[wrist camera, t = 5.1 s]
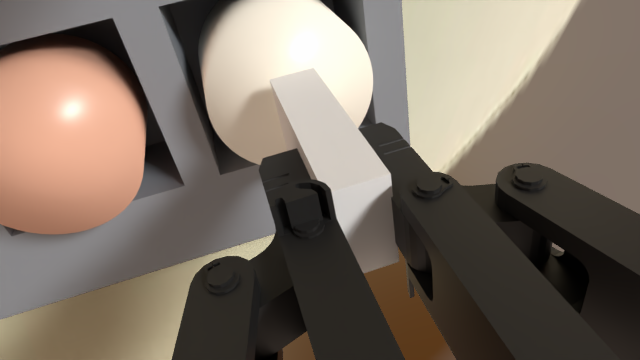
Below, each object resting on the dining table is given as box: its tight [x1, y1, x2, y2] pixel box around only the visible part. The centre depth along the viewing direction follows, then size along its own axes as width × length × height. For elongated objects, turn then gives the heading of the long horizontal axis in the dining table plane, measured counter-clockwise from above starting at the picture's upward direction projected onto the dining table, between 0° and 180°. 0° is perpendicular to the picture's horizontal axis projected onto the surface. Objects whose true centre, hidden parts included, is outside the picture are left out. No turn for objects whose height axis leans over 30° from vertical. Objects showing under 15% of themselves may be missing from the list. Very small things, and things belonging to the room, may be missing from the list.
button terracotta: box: [0, 33, 148, 234], centre depth 17 cm, size 6×6×4 cm
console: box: [0, 0, 410, 319], centre depth 19 cm, size 15×27×5 cm, turn 100°
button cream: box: [198, 0, 373, 165], centre depth 18 cm, size 6×6×4 cm
